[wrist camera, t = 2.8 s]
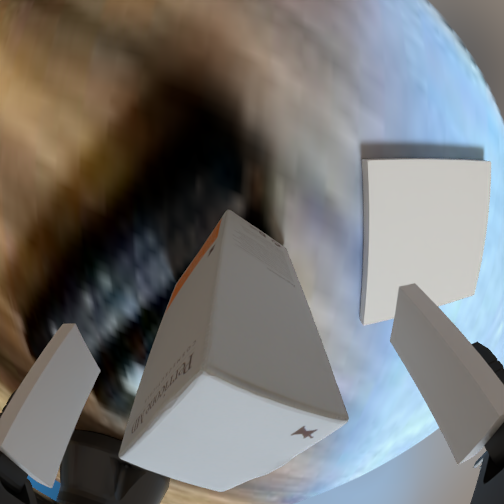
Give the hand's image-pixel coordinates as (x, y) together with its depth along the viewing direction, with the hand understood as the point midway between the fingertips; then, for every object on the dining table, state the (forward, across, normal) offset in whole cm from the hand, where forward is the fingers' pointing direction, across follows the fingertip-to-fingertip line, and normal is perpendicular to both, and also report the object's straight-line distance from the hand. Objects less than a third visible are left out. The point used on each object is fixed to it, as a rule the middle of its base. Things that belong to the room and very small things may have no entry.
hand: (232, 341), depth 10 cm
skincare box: (+7, 0, 0) cm, 7 cm away
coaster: (+7, +14, 0) cm, 15 cm away
